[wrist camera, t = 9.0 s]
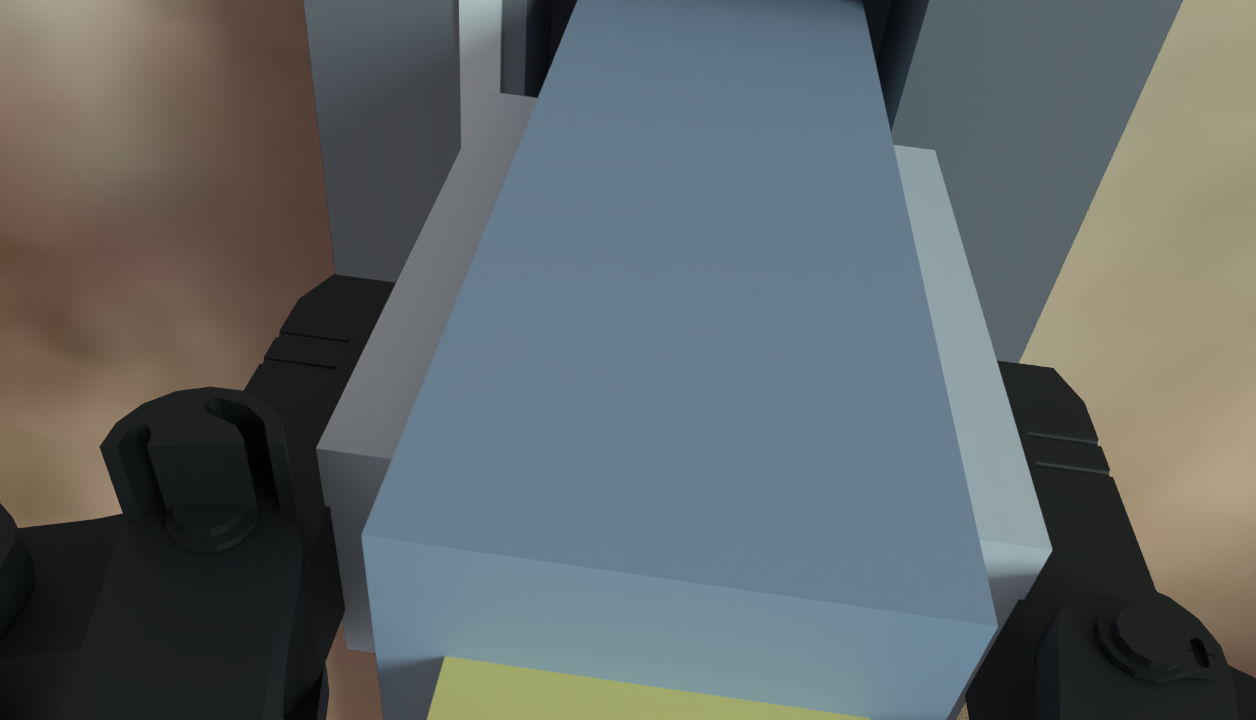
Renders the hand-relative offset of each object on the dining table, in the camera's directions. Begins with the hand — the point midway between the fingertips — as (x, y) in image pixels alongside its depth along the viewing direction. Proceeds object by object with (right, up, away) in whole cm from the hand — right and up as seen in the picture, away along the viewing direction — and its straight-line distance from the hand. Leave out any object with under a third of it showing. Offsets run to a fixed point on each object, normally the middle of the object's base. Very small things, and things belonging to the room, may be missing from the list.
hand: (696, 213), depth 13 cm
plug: (0, +3, +3) cm, 4 cm away
